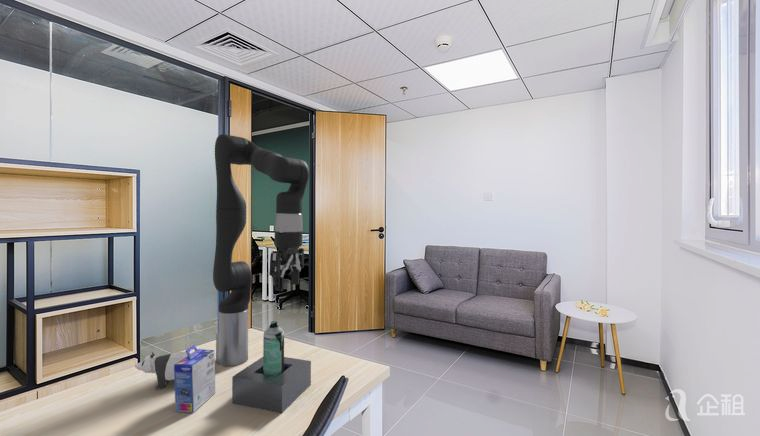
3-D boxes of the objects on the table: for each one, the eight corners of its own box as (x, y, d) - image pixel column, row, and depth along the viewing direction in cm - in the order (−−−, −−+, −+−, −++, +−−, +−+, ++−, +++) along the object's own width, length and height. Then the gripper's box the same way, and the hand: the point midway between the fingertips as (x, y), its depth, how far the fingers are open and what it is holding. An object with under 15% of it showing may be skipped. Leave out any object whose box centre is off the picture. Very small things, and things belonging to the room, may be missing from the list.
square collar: (232, 402, 91) (232, 376, 91) (266, 376, 105) (266, 354, 105) (281, 413, 86) (282, 385, 86) (310, 384, 101) (310, 360, 101)
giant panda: (195, 376, 105) (195, 345, 105) (192, 384, 100) (192, 352, 100) (138, 384, 100) (138, 351, 100) (132, 393, 95) (132, 359, 95)
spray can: (287, 390, 98) (288, 320, 97) (275, 400, 92) (276, 326, 92) (271, 386, 99) (271, 318, 99) (258, 396, 94) (259, 323, 94)
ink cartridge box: (197, 391, 96) (197, 340, 96) (216, 392, 96) (216, 341, 96) (172, 412, 86) (172, 354, 86) (193, 413, 86) (193, 356, 86)
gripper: (290, 227, 104) (288, 281, 105) (261, 230, 90) (260, 291, 91) (312, 229, 102) (311, 283, 102) (287, 231, 88) (285, 294, 89)
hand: (287, 287), depth 97 cm, fingers open, 8 cm apart
